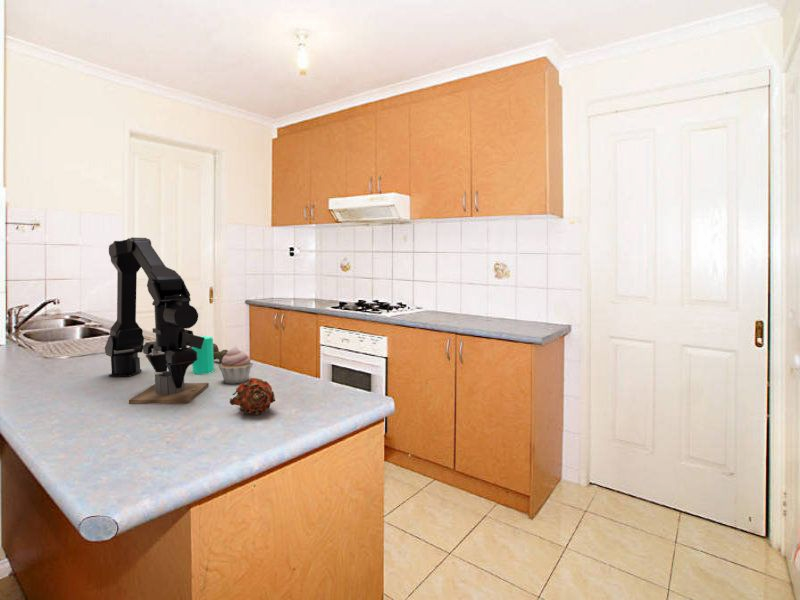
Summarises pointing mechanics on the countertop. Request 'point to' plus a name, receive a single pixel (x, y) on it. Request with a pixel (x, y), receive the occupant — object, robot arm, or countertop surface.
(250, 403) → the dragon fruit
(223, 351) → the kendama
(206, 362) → the candle
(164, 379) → the gray faceted pot
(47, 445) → the countertop surface
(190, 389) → the square brown plate
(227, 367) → the cupcake
